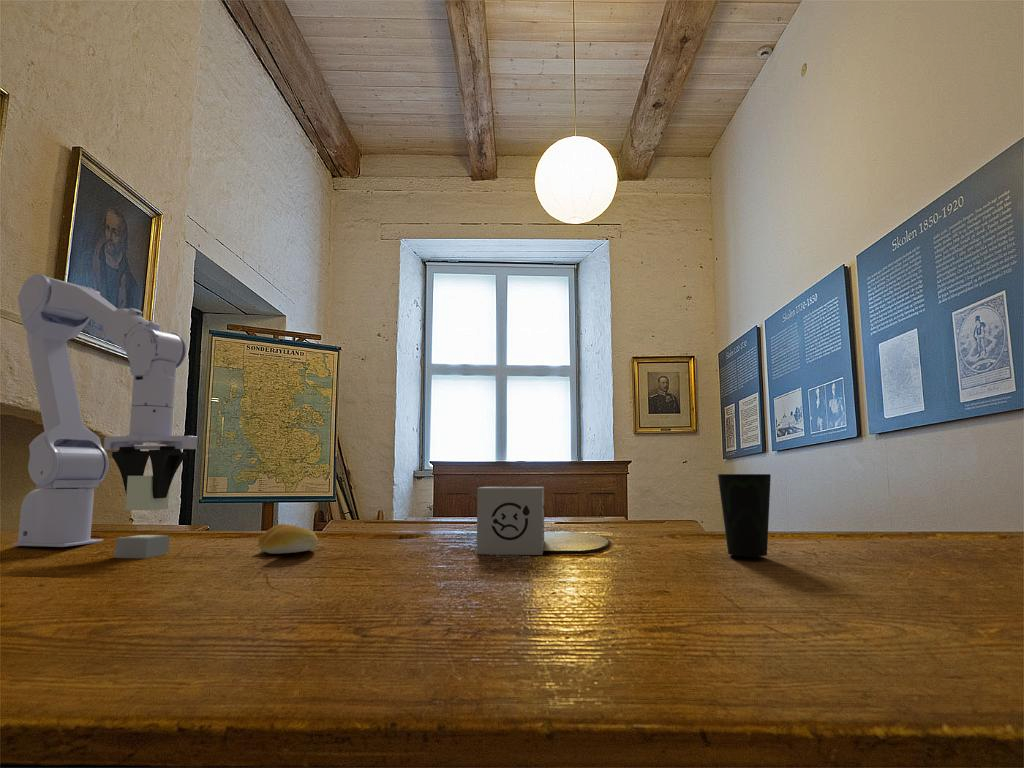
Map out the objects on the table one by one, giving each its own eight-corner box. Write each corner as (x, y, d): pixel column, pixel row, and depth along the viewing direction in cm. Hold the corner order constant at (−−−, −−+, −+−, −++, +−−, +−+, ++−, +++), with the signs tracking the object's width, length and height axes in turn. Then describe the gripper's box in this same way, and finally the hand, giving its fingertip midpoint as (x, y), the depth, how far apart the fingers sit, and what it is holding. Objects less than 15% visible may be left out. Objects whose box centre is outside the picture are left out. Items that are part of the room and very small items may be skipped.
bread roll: (273, 555, 97) (272, 527, 98) (252, 552, 104) (252, 526, 105) (327, 549, 102) (327, 522, 103) (304, 546, 109) (304, 521, 110)
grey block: (114, 559, 98) (116, 537, 99) (138, 555, 103) (139, 534, 104) (145, 560, 98) (147, 538, 98) (168, 555, 103) (169, 534, 103)
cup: (773, 552, 105) (769, 474, 107) (775, 558, 98) (771, 474, 100) (721, 550, 108) (718, 474, 109) (719, 556, 100) (716, 474, 102)
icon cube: (544, 547, 113) (543, 486, 114) (542, 554, 103) (542, 488, 104) (484, 547, 114) (484, 486, 115) (476, 554, 104) (477, 488, 105)
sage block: (125, 509, 100) (127, 475, 101) (145, 508, 104) (147, 475, 105) (148, 510, 99) (151, 475, 100) (167, 508, 103) (170, 475, 104)
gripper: (90, 406, 101) (83, 498, 99) (176, 404, 98) (170, 499, 96) (126, 410, 108) (120, 497, 106) (207, 408, 105) (202, 497, 103)
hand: (146, 498), depth 102 cm, fingers closed on sage block, 4 cm apart
